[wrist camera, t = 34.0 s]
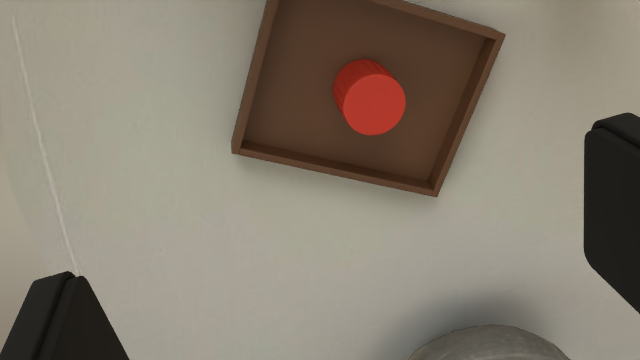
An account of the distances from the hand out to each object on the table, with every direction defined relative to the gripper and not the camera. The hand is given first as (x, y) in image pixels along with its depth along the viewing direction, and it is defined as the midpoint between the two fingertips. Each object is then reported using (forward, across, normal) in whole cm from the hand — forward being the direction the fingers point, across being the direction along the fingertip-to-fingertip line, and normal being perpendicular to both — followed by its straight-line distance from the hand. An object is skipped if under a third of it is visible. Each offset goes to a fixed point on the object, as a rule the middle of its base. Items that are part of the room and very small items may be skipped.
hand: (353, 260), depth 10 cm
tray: (+28, -6, +7) cm, 29 cm away
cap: (+27, -6, +7) cm, 29 cm away
